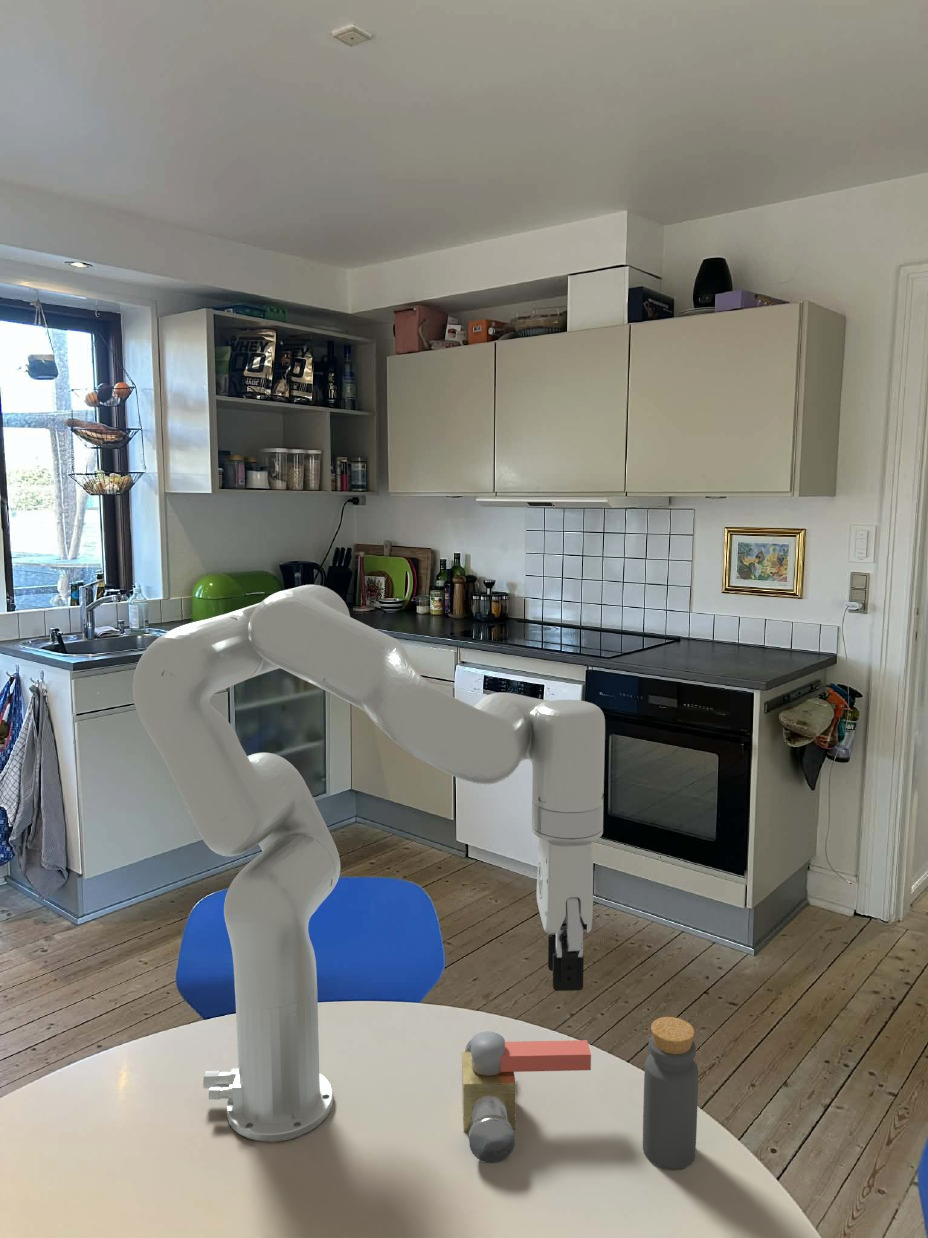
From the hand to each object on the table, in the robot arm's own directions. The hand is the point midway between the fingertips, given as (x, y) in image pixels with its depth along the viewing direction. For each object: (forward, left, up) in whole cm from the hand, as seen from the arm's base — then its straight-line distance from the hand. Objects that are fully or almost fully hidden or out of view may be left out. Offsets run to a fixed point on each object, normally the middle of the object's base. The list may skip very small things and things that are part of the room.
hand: (565, 977), depth 99 cm
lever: (-3, +7, -15) cm, 17 cm away
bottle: (+12, 0, -21) cm, 25 cm away
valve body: (-8, +7, -21) cm, 24 cm away
